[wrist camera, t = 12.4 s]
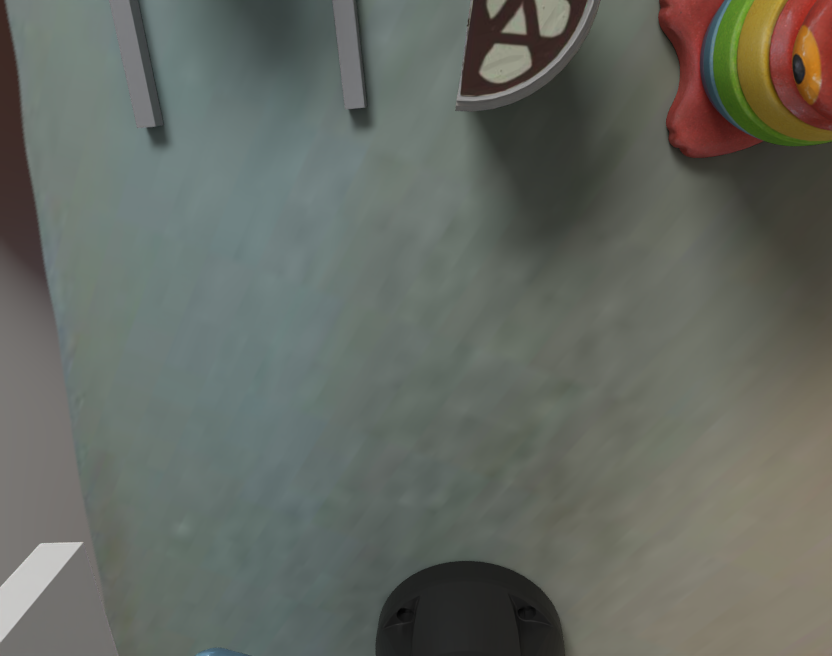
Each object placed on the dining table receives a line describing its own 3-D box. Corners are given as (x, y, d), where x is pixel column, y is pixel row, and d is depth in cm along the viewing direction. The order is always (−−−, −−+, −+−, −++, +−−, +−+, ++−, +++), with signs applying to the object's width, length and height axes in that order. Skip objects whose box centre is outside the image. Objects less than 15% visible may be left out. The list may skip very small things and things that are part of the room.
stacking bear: (653, -28, 38) (802, -114, 21) (841, -70, 37) (1156, -196, 20) (667, 163, 42) (804, 217, 25) (839, 131, 40) (1106, 164, 24)
